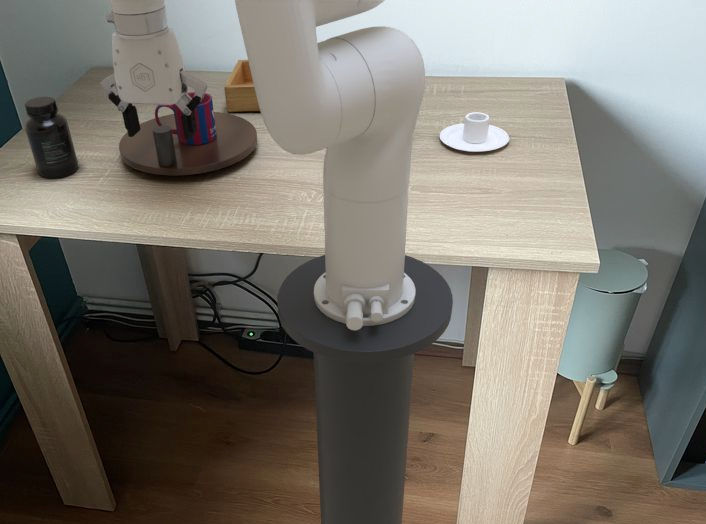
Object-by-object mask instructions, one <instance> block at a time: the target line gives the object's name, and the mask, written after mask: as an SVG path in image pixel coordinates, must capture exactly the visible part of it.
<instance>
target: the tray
mask: <svg viewBox="0 0 706 524" xmlns="http://www.w3.org/2000/svg"><path fill="white" fill-rule="evenodd" d="M223 88H224V89H223V90H224V96H225V103H226V110H227V113H228V112H261V111H260V108H259V104H258V100H257V96H256V92H255V88H254V83H253V79H252V75H251V70H250V66H249V62H248V59H238V60H237V62H236V63H235V65H234V68H233V70H232V71H231V72H230V75H229V77H228V79H227V81H226V82H225V85H224V86H223Z"/></svg>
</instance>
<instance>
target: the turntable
mask: <svg viewBox="0 0 706 524" xmlns="http://www.w3.org/2000/svg"><path fill="white" fill-rule="evenodd" d="M158 118H159V121H160V123H161V124H162V125H163V126H158V124H157V122H156V119H155V117H154V118H152V119H149V120H146V121H144V122H141V123H140V131H139V132H138V133H137V134H135V135H134V136H133V137H129V136H128V132H126V133H125V134H124V135H122V137H121V139H120V141H119V143H118V151H119V155H120V158H121V159H122V160H123V162H124V163H125V164H126V165H127V166H129V167H131V168H133V169H134V170H136V171H140V172H144V173H147V174H152V175H159V176H160V175H161V176H190V175H191V176H192V175H200V174H204V173H210V172H214V171H217V170H221V169H224V168H227V167H229V166H232V165H235V164H236V163H239V162H240V161H242V160H244V159H245V158H247V157H248V156H250V154H251V153H252V152H253V151H254V150H255V148H256V147H257V144H258V131H257V129H256V127H255V125H253V123H251V122H250V121H249V120H247V119H246V118H244V117H241V116H238V115H235V114H231V113H228V112H227V113H226V112H222V111H221V112H220V111H214V118H215V126H216V134H217V136H216V138H215V139H214V140H213V141H212V142H210V143H207V144H203V145H186V144H183V143H181V142H180V141H179V140H178V135H177V134H172V130H171V129H176V123H175V117H174V113H171V114H165V115H161V116H158Z"/></svg>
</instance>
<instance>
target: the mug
mask: <svg viewBox="0 0 706 524" xmlns="http://www.w3.org/2000/svg"><path fill="white" fill-rule="evenodd" d="M187 94H188V95H189V96H190V97H191V98H192V99H193V97H194V94H195V91H191V92H187ZM161 108H168V109H170V110H171V111H172V112H173V114H174V117H175V123H176V129H171V130H172V134H177V135H178V140H179V141H180V142H181V143H183V144H186V145H203V144H207V143H210V142H212V141H213V140H214V139H215V138H216V136H217V134H216V126H215V118H214V112H215V110H214V103H213V96H212V95H211V94H209V93H207V92H205V95H204V97H203V100H202V102H201V103H200V104H199V105H198V106H197V108H196V109H195V117H196V124H197V131H196V133H195V135H194V136H193V137H192V138H191V139H190V140H186V139H184V133H183V127H182V121H181V116H182V115H183V112H182V111H181V110H180V109H179V108H178V106H177V105H176V104H172V105H157V106H156V107H155V110H154V118H155V119H156V122H157V124H158V126H163V125H162V124H161V123H160V121H159V118H158V117H159V110H160V109H161Z"/></svg>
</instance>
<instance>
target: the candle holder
mask: <svg viewBox="0 0 706 524" xmlns="http://www.w3.org/2000/svg"><path fill="white" fill-rule="evenodd" d="M439 139H440V141H441V142H442V143H443V144H444V145H446V146H448V147H450V148H453V149H455V150H459V151H464V152H471V153H472V152H473V153H475V152H476V153H477V152H480V153H481V152H489V151H490V152H491V151H494V150H495V151H496V150H498V149H500V148H503V147H504V146H506V145H507V144H508V143H509V141H510V135H509V134H508V133H507V131H505V130H504V129H503V128H501V127H498V126H496V125H492V124H490V115H489V114H487V113H484V112H478V111H473V112H469V113H467V114H466V115H465V116H464V122H462V123H456V124H455V123H454V124H452V125H449V126H447V127H445V128H443V129H442V130H441V131H440V132H439Z"/></svg>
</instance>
